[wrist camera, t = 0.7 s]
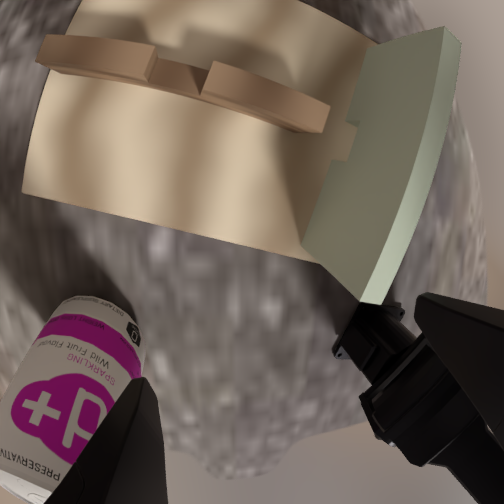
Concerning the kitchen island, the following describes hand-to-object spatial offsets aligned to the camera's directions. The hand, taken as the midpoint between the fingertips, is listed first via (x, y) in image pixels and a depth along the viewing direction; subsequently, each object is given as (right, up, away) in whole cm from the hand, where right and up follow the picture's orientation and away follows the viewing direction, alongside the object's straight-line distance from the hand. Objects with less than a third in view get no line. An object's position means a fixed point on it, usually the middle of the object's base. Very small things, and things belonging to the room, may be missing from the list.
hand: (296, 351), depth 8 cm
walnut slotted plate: (-6, +13, +7) cm, 16 cm away
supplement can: (-14, -4, +13) cm, 19 cm away
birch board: (-3, +13, +9) cm, 16 cm away
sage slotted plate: (+5, +10, +11) cm, 16 cm away
